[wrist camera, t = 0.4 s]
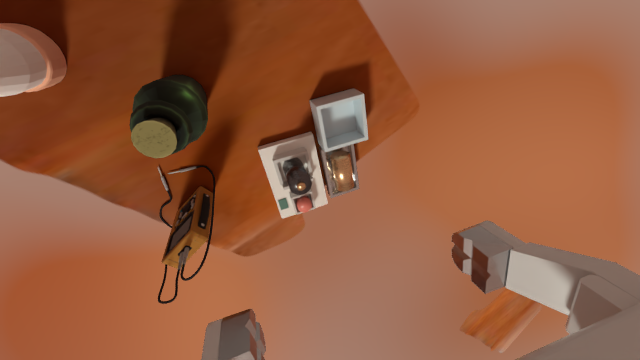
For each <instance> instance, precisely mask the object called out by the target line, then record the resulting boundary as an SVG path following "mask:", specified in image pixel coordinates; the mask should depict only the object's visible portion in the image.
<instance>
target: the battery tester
mask: <svg viewBox="0 0 640 360" xmlns="http://www.w3.org/2000/svg"><path fill="white" fill-rule="evenodd" d="M258 151H259V154H260V156H261V159H262V162H263V165H264V168H265V171H266V174H267V177H268V179H269V182H270V185H271V188H272V191H273V194H274V197H275V200H276V202H277V205H278V208H279V211H280V214H281V217H282V219H283V218H286V217H289V216H292V215H295V214H296V215H297V214H300V213H303V212H300V211H299V210H298V207H297V204H296V200H297V198H299V197H302V196H305V195H306V196H308V197H309V199H310V201H311V203H312V208H311V209H310V210H312V209H316V207H319V206H322V205H325V204H328V202H327V197H326V193H325V188H324V183H323V179H322V174H321V169H320V165H319V160H318V155H317V151H316V146H315V141H314V137H313V134H312V132H308V133H304V134H301V135H297V136H294V137H290V138H287V139H283V140H280V141H276V142H273V143H269V144H266V145H262V146H259V147H258ZM295 157H297V158H299V159H300V160H301V161H302V163H303V165H304V167H305V169H306V171H307V173H308V175H309V177H310V179H311V181H312V186H311V189H310V190H309V191H308V192H307V193H305V194H303V195H296V194H294V193H292V192H291V191H290V188H289V185H288V183H287V180H286V177H285V174H284V171H283V163H284V161H285V160H289V159H292V158H295ZM310 210H309V211H310Z"/></svg>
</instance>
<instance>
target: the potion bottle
mask: <svg viewBox="0 0 640 360" xmlns="http://www.w3.org/2000/svg"><path fill="white" fill-rule="evenodd" d="M207 121H208V112H207V98H206V93H205V91H204V89H203V88H202V86H201V85H200V84H199V83H198V82H197V81H195V80H194V79H193V78H190V77H188V76H185V75H172V76H169V77H165V78H162V79H159V80H155V81H153V82H151V83H149V84H147V85H144V86H142V88H141V89H140V90H139V91H138V93H137V94H136V95H135V97H134V103H133V113H132V114H131V119H130V129H131V132H132V134H131V139H132V142H133V145H134V146H135V147H136V148H137V150H138V151H139V152H141V153H143V154H144V155H146V156H149V157H153V158H164V157H166V156H168V155H170V154H174V153H176V152H178V151H180V150H183V149H185V147H186V146H187V145H188V144H189V143H191V142H193V141H195V140H197V139H198V138H199V137H200V136H201V135H202V134H203V132H204V131H205V128H206V125H207Z"/></svg>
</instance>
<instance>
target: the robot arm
mask: <svg viewBox="0 0 640 360" xmlns="http://www.w3.org/2000/svg"><path fill="white" fill-rule="evenodd" d="M452 242H453V243H454V244H455V245H454V247H453V248H452V258H453V260H454V263H455V264H456V266H457V267H458V268H459V269H460V270H461V271H462V272H463V273H465V274H468V275H471V280H472V282H473V283H474V284H475V285H476V286H477V287H478V288H479V289H481V290H482V291H483V292H484V293H485V294H486V293H489V292H491V291H494V290H497V289H500V288H502V287H505V286H506V288H507V289H510V290H512V291H514V292H516V293H519V294H521V295H523V296H525V297H528V298H530V299H532V300H534V301H537V302H539V303H541V304H543V305H546V306H548V307H550V308H552V309H555V310H557V311H559V312H562V313H564V314H566V315H568V320H567V323H566V331H567V332H568V333H569V334H570V335H568V336H566V337H564V338H561V339H560V340H557V341H555V342H553V343H550V344H548V345H546V346H544V347H542V348H540V349H538V350H535V351H533V352H531V353H529V354H526V355H524V356H522V357H520V358H518V359H516V360H640V275H638V274H636V273H634V272H632V271H630V270H628V269H626V268H625V267H623V266H621V265H619V264H617V263H615V262H611V261H607V260H602V259H598V258H594V257H590V256H585V255H581V254H576V253H572V252H568V251H564V250H560V249H556V248H551V247H547V246H543V245H538V244H534V243H527V244H526V243H524V242H523V241H521V240H519V239H518V238H516V237H515V236H513V235H512V234H510V233H508V232H507V231H505V230H504V229H502V228H500V227H499V226H497V225H496V224H494V223H493V222H491V221H484V222H482V223H479V224H477V225H474V226H471V227H468V228H466V229H463V230H461V231H458V232H456V233H453V235H452ZM265 351H266V346H265V339H264V334H263V331H262V328H261V325H260V323H258V322H256V318H255V313H254V311H253V310H252V309H248V310H245V311H242V312H239V313H236V314H234V315H231V316H228V317H225V318H223V319H220V320H217V321H214V322H211V323H209V324H208V326H207V328H206V333H205V340H204V346H203V353H202V359H201V360H265V359H264V357H263V355H264V353H265Z"/></svg>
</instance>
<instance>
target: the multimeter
mask: <svg viewBox="0 0 640 360" xmlns="http://www.w3.org/2000/svg"><path fill="white" fill-rule="evenodd" d="M199 167H205V168H207V169H208V170H209V171H210V172H211V174H212V176H213V182H214V187H213V193H212V192H210V191H209V190H207V189H205V188H204V187H202V186H200V187H198V188H197V190H196V191H195V192H194V193H193V194H192V195H191V197H190V198H189V199H188V200H187V201H186V202H185V203H184V204H183V206H182V207H180V209H179V210H178V211H177V213H176V217H175V220H174V223H173V227H172V226H170V225H169V224H168V223H166V222H165V221H164V220H163V218H162V216H161V211H162V208H163V207H164V206H165V205H167V204H168V203H170V202H171V200H172V197H171V195H170V192H169V189H168V186H167V183H166V181H165V178H164V176H162V174H161V171H160V169H159V167H158V170H159V172H160V175H161V177H160V178H161V179H162V182H163V184H164V187H165V189H166V190H167V192H168V194H169V196H170V201H168V202H167V203H165V204H164V205H163V206H162V207H161V209H160V218H161V220H162V221H163V222H164V223H165V224H166V225H168V226H169V227H171V228H172V230H171V233H170V236H169V239H168V243H167V246H166V249H165V253H164V256H163V259H162V263H164V264H165V274H164V279H163V283H162V286H161V289H160V292H159V296H158V302H159V303H162V304H164V303H170V302H172V301H173V300H174V299H175V298H176V296H177V289H178V285H177V284H178V276H179V271H180V269H181V267H182V270H181V278H182V280H185V281H186V280H190V279H192V278H193V277H194V276H195V275H196V274H197V273H198V271H199V270H200V269H201V267H202V266H203V263H204V261H205V259H206V256H207V253H208V249H209V245H210V240H211V234H212V226H213V215H214V198H215V177H214V174H213V173H212V171H211V170H210V169H209V168H208V167H207V166H194V167H189V168H185V169H179V171H175V172H171V173H168V174H172V173H176V172H180V173H181V172H184V171H189V170H193V169H196V168H199ZM211 210H212V216H211ZM210 219H211V226H210ZM209 227H210V234H209ZM208 236H209V240H208V244H207V249H206V252H205V255H204V258H203V261H202V263H201V265H200V267H199V268H198V270H197V271H196V272H195V274H193V275H192V276H191V277H189V278H187V279H185V278H184V277H183V271H184V266H185V263H186V261H187V260H188V259H189V258H190V257H191V256H192V255H193V254H194V253H195V252H196V251H197V250H198V249H199V248H200V247H201V246H202V245H203V244H204V243H205V242H206V241H207V239H208ZM167 265H169V266H172V267H174V268H177V269H178V272H177V277H176V290H175V296H174V298H173V299H171V300H169V301H164V302H163V301H161V300H160V295H161V292H162V289H163V286H164V283H165V278H166V272H167Z"/></svg>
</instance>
